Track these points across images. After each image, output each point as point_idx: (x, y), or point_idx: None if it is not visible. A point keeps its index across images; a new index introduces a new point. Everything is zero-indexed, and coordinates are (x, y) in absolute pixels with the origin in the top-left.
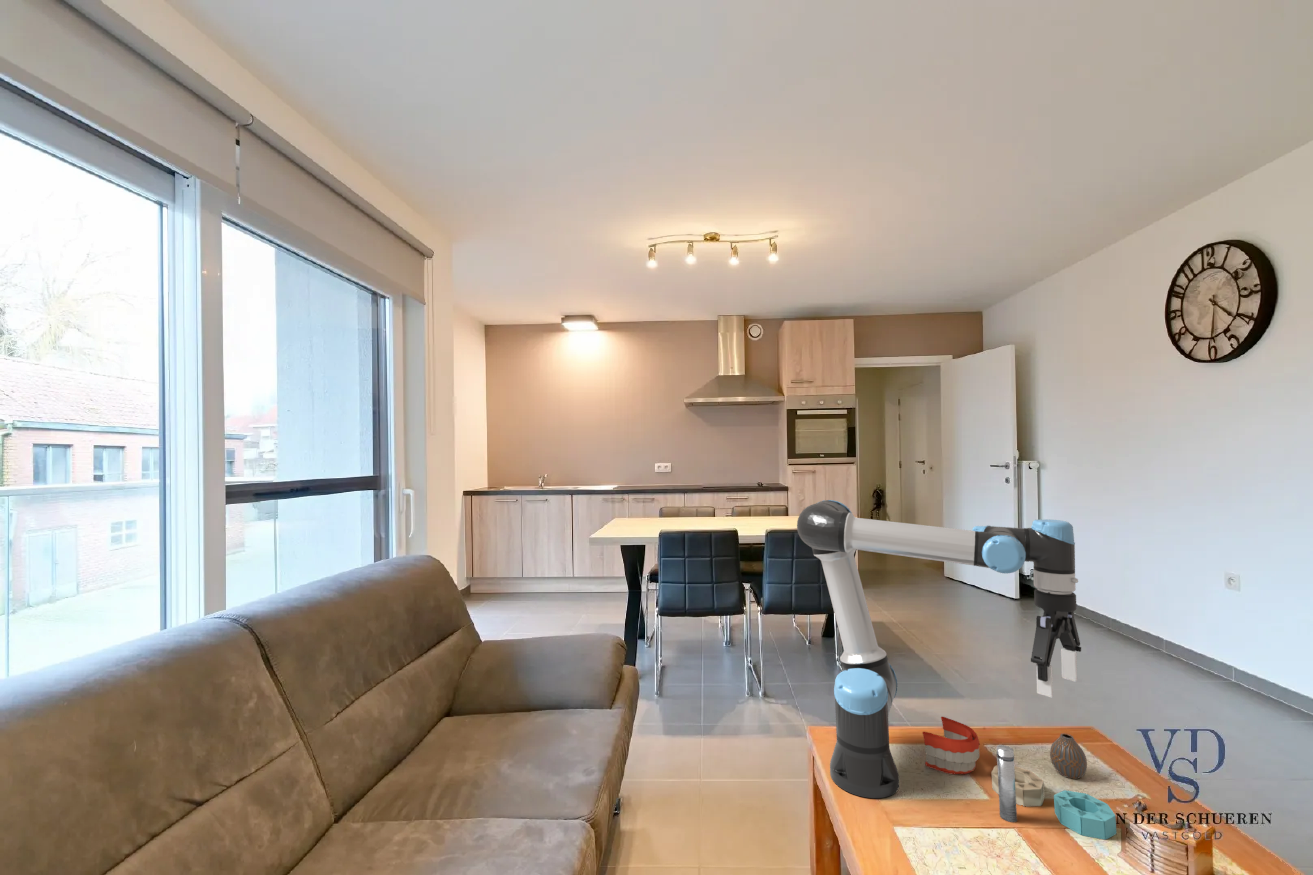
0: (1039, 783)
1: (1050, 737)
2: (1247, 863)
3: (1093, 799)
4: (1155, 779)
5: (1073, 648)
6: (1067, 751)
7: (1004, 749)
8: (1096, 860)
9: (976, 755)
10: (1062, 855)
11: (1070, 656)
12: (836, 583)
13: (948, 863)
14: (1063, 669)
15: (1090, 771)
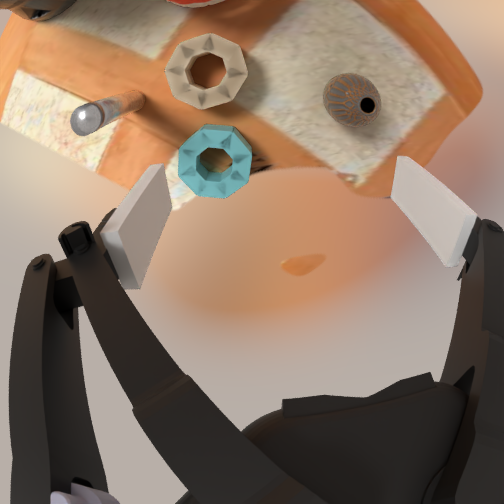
0: (217, 100)
1: (435, 55)
2: (287, 271)
3: (243, 166)
4: None
5: (463, 269)
6: (339, 107)
7: (79, 122)
8: None
9: (201, 4)
10: (125, 173)
11: (440, 235)
12: None
13: (22, 132)
14: (412, 176)
15: None
